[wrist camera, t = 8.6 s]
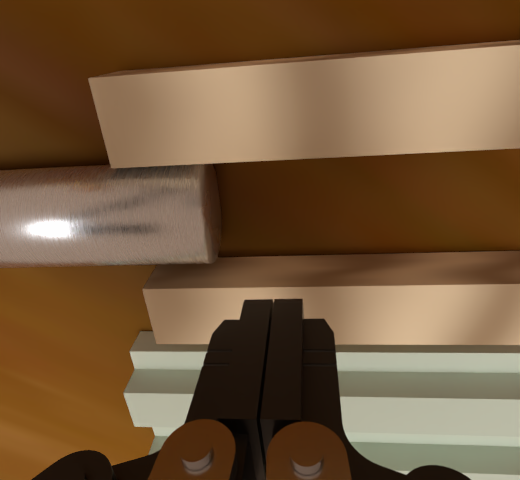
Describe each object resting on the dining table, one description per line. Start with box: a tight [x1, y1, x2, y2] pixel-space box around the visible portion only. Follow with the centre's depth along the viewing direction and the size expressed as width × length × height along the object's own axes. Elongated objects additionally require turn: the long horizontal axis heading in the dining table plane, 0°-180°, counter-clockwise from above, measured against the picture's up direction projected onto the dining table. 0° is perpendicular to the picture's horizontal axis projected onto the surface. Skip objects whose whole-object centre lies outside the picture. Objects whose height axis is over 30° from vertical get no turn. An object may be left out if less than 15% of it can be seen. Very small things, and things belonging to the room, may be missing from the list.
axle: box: [0, 164, 222, 268], centre depth 16 cm, size 16×4×4 cm, turn 94°
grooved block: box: [124, 331, 520, 480], centre depth 21 cm, size 20×10×3 cm, turn 94°
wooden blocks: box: [88, 40, 520, 345], centre depth 15 cm, size 16×11×2 cm
